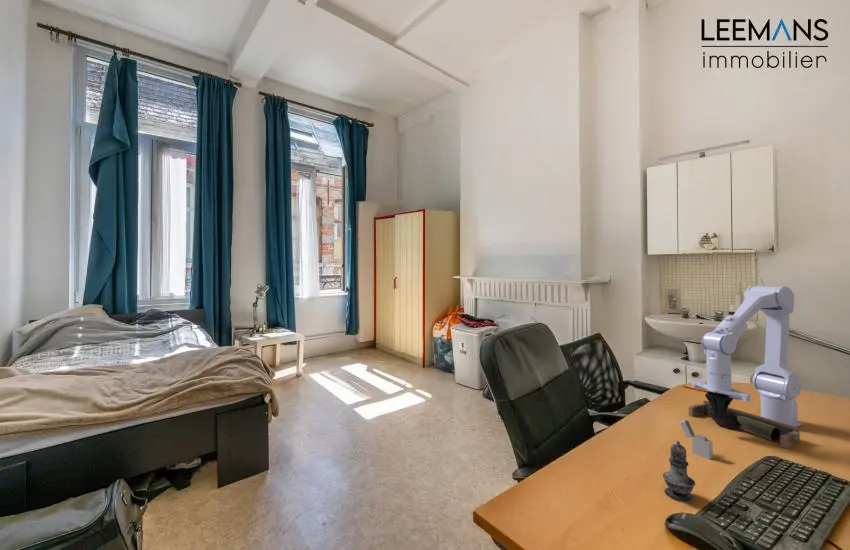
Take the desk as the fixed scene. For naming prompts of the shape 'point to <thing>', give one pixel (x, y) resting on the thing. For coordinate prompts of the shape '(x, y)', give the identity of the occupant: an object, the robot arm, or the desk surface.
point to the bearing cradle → (788, 432)
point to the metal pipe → (746, 425)
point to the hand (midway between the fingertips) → (719, 418)
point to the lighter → (698, 441)
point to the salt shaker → (678, 476)
